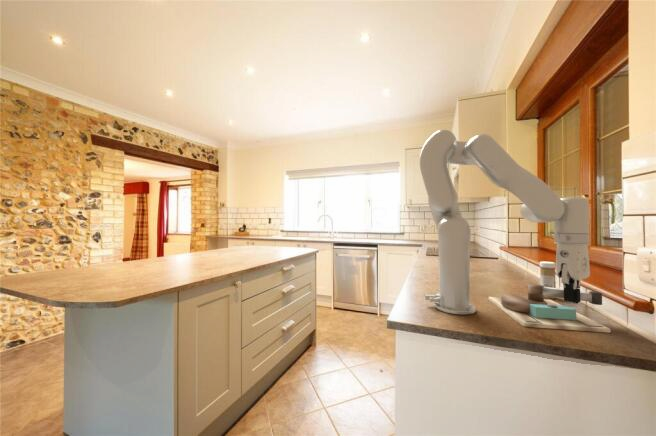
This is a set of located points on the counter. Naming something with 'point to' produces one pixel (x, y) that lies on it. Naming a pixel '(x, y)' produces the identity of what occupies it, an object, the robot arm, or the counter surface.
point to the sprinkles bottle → (548, 276)
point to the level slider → (553, 311)
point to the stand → (531, 321)
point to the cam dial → (537, 297)
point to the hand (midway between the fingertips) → (572, 301)
